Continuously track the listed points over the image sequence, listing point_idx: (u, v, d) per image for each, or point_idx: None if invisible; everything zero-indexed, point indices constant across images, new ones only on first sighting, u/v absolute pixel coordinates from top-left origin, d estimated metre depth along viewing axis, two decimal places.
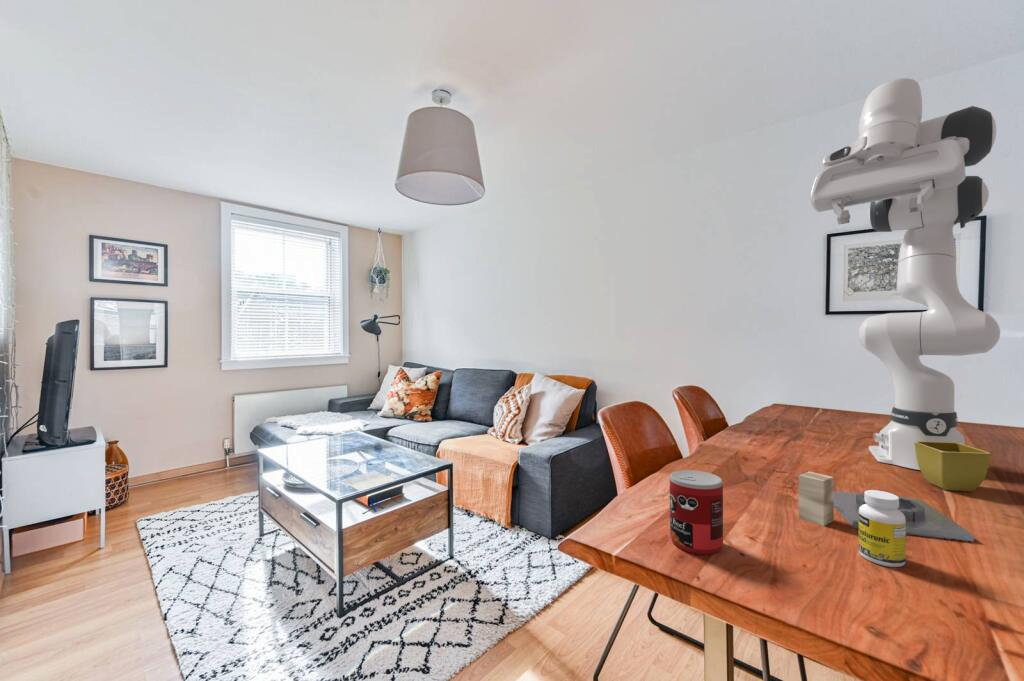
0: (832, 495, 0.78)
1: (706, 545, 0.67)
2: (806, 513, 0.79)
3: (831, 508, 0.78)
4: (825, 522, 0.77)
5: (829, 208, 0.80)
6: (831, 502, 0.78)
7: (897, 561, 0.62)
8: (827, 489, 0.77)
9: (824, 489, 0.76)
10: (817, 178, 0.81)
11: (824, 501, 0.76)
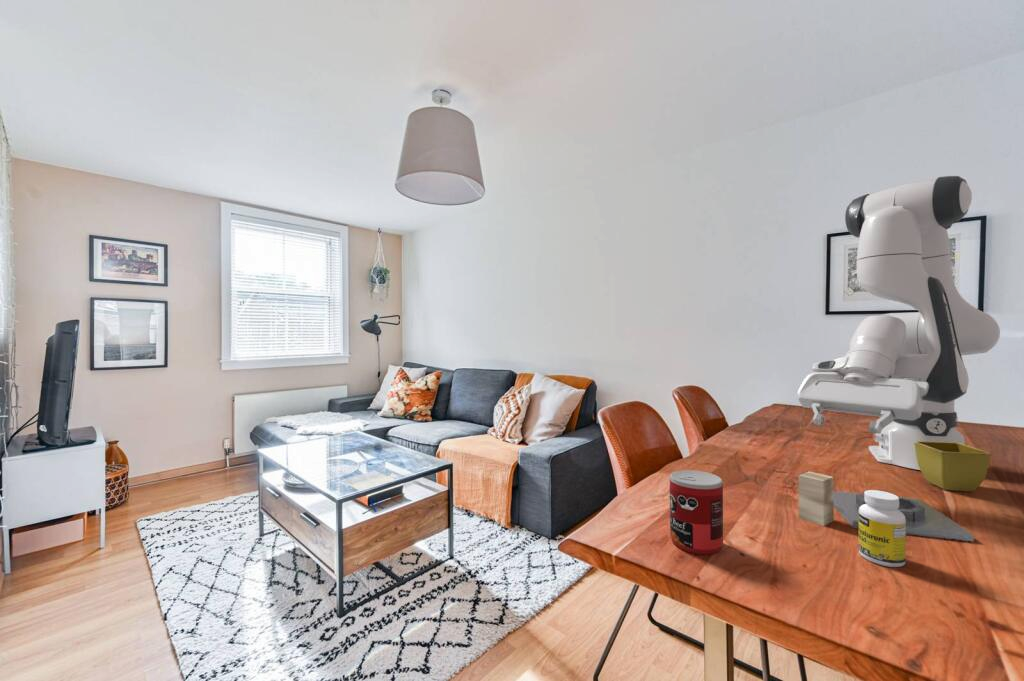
0: (832, 495, 0.78)
1: (706, 545, 0.67)
2: (806, 513, 0.79)
3: (831, 508, 0.78)
4: (825, 522, 0.77)
5: (812, 407, 0.94)
6: (831, 502, 0.78)
7: (897, 561, 0.62)
8: (827, 489, 0.77)
9: (824, 489, 0.76)
10: (805, 379, 0.96)
11: (824, 501, 0.76)
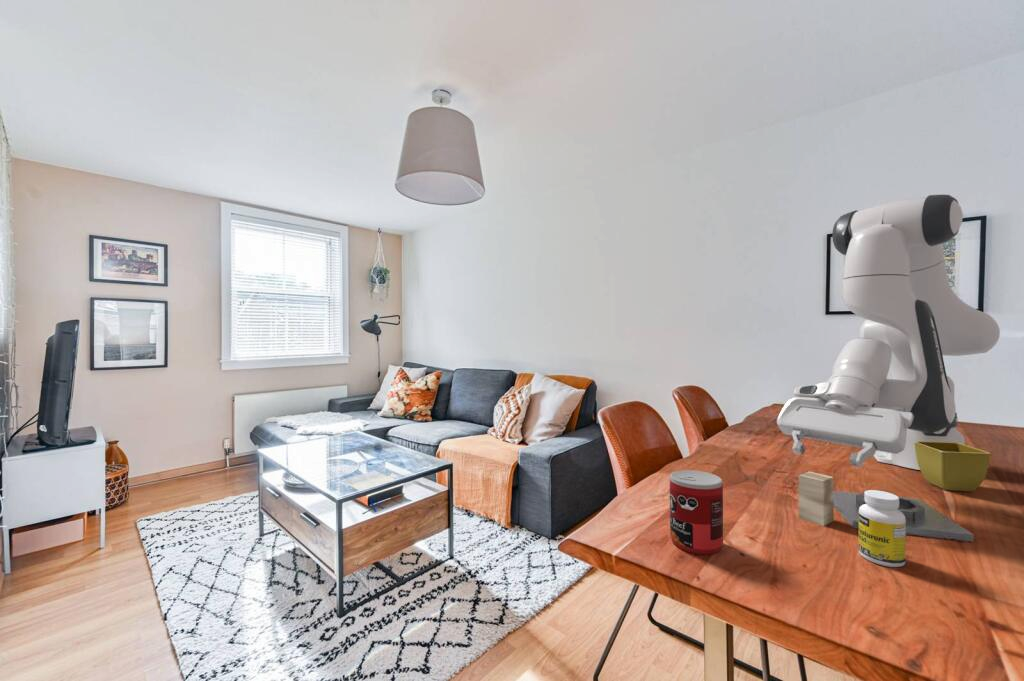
0: (832, 495, 0.78)
1: (706, 545, 0.67)
2: (806, 513, 0.79)
3: (831, 508, 0.78)
4: (825, 522, 0.77)
5: None
6: (831, 502, 0.78)
7: (897, 561, 0.62)
8: (827, 489, 0.77)
9: (824, 489, 0.76)
10: (786, 404, 0.91)
11: (824, 501, 0.76)
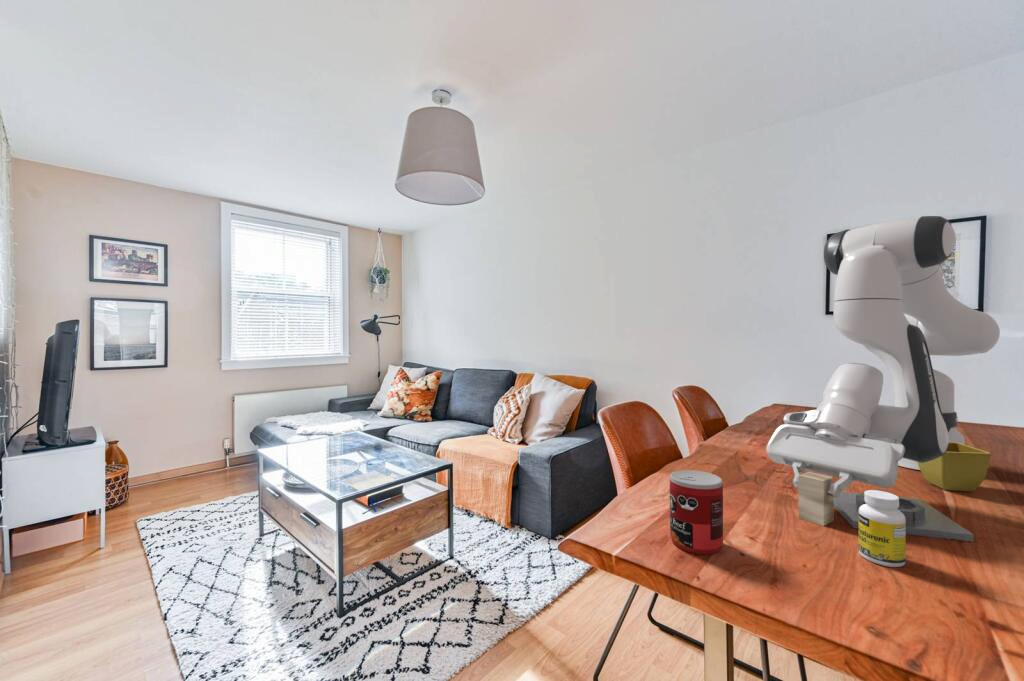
0: None
1: (706, 545, 0.67)
2: (806, 513, 0.79)
3: (831, 508, 0.78)
4: (825, 522, 0.77)
5: (782, 463, 0.87)
6: (831, 502, 0.78)
7: (897, 561, 0.62)
8: None
9: (824, 489, 0.76)
10: (775, 432, 0.89)
11: (824, 501, 0.76)
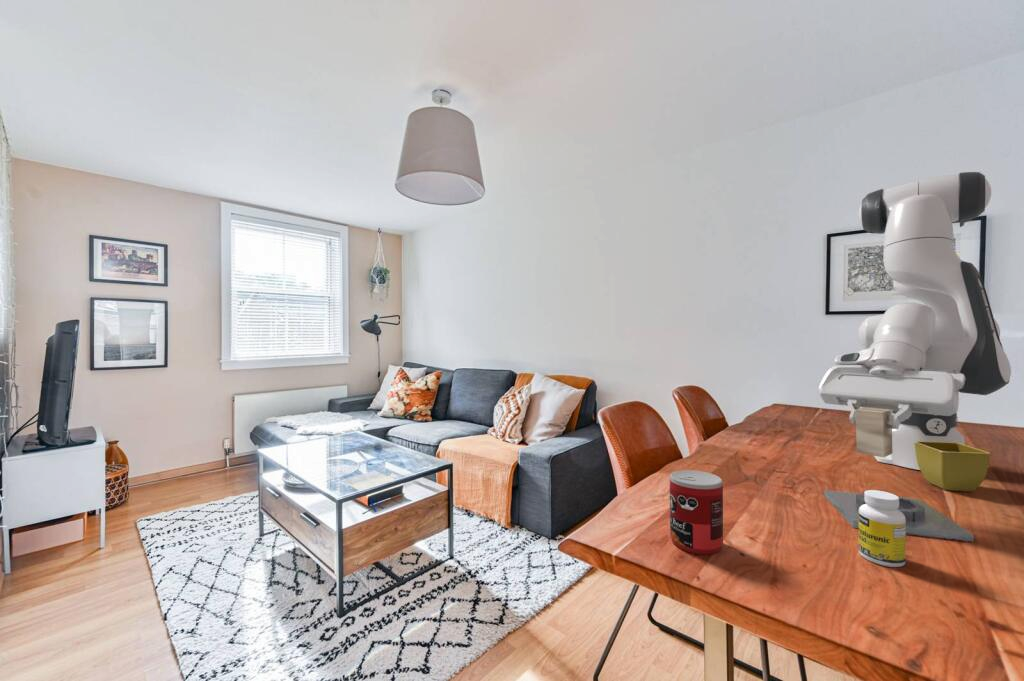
0: (890, 428, 0.78)
1: (706, 545, 0.67)
2: (864, 446, 0.79)
3: (890, 440, 0.78)
4: (885, 453, 0.77)
5: (835, 403, 0.87)
6: (890, 435, 0.78)
7: (897, 561, 0.62)
8: None
9: (884, 421, 0.77)
10: (827, 373, 0.89)
11: (884, 432, 0.77)
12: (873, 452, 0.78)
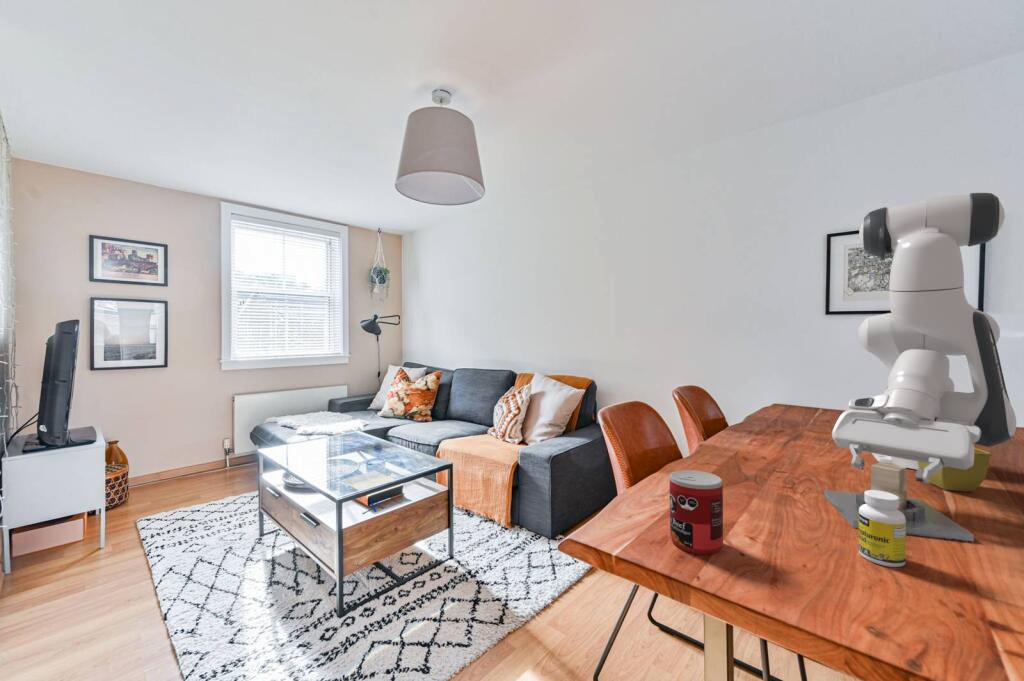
0: (905, 485, 0.79)
1: (706, 545, 0.67)
2: None
3: (904, 498, 0.79)
4: None
5: (848, 447, 0.88)
6: (904, 492, 0.79)
7: (897, 561, 0.62)
8: (901, 479, 0.78)
9: (899, 479, 0.78)
10: (841, 417, 0.90)
11: (899, 490, 0.77)
12: None
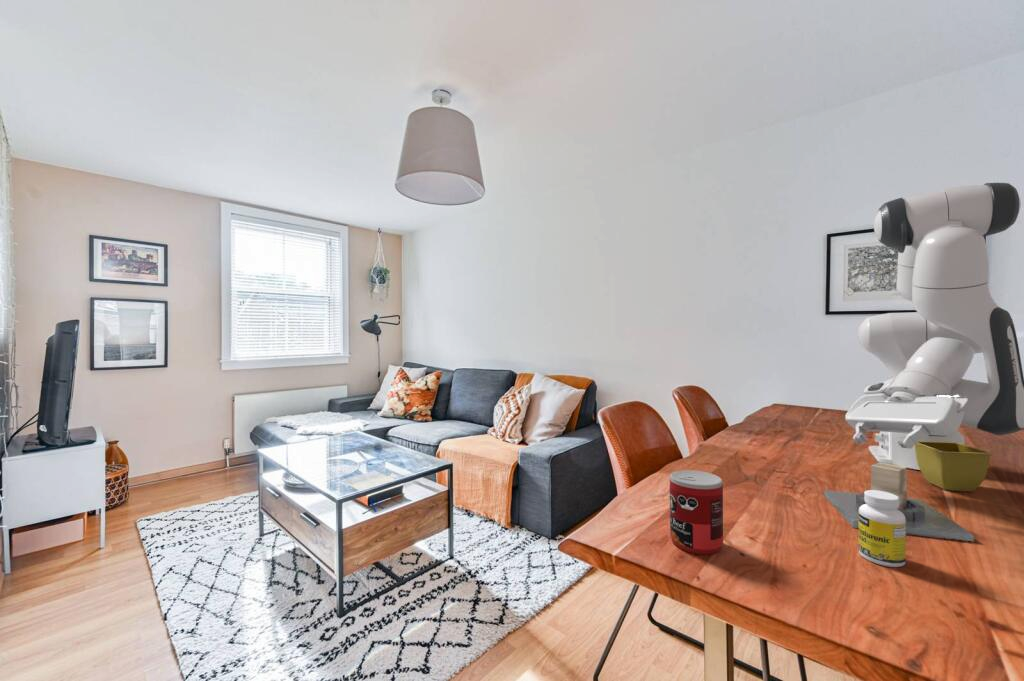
0: (905, 485, 0.79)
1: (706, 545, 0.67)
2: None
3: (904, 498, 0.79)
4: None
5: None
6: (904, 492, 0.79)
7: (897, 561, 0.62)
8: (901, 479, 0.78)
9: (899, 479, 0.78)
10: (855, 402, 0.98)
11: (899, 490, 0.77)
12: None
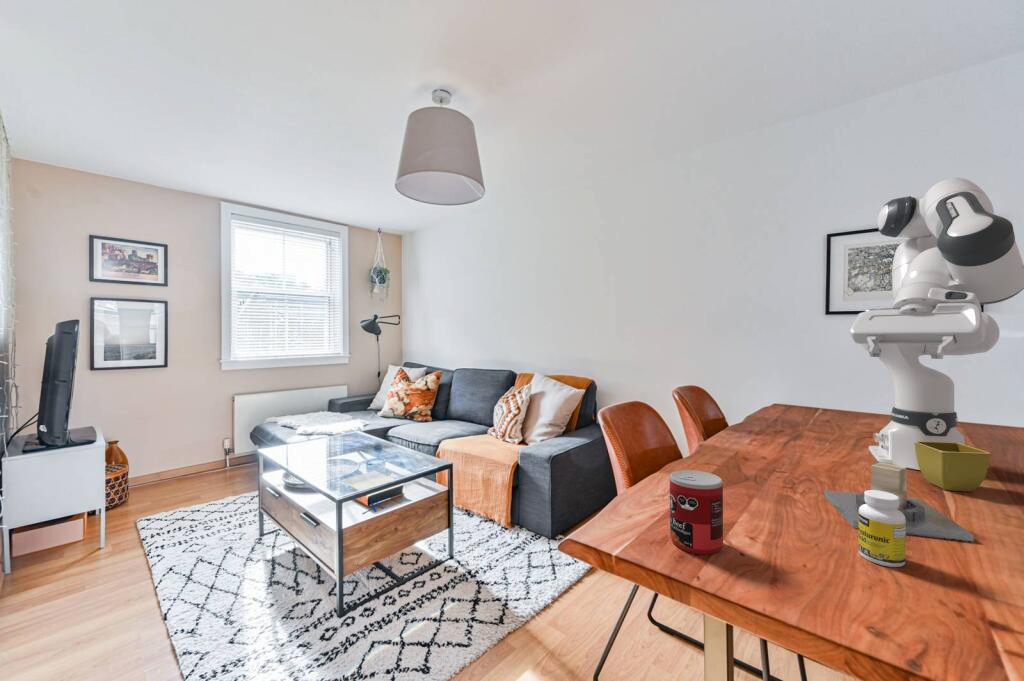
0: (905, 485, 0.79)
1: (706, 545, 0.67)
2: None
3: (904, 498, 0.79)
4: None
5: (960, 334, 0.81)
6: (904, 492, 0.79)
7: (897, 561, 0.62)
8: (901, 479, 0.78)
9: (899, 479, 0.78)
10: None
11: (899, 490, 0.77)
12: None
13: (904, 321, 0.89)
